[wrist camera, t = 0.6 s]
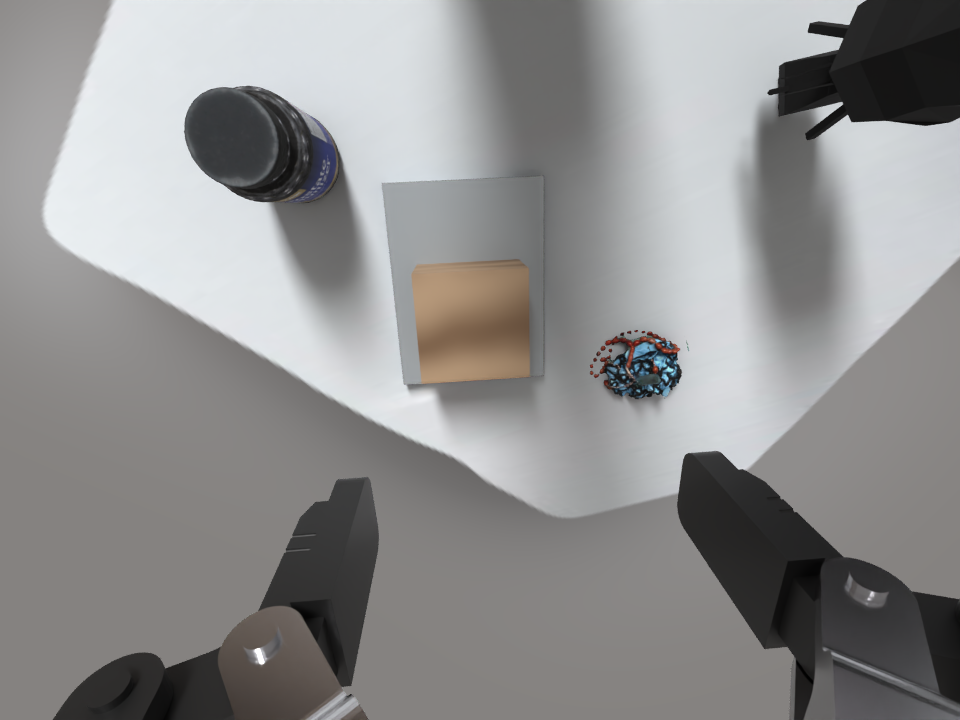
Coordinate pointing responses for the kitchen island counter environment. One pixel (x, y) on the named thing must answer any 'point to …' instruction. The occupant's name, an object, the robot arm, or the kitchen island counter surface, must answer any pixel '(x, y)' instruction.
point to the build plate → (464, 243)
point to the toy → (881, 66)
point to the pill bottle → (261, 145)
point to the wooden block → (472, 320)
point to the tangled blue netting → (642, 366)
